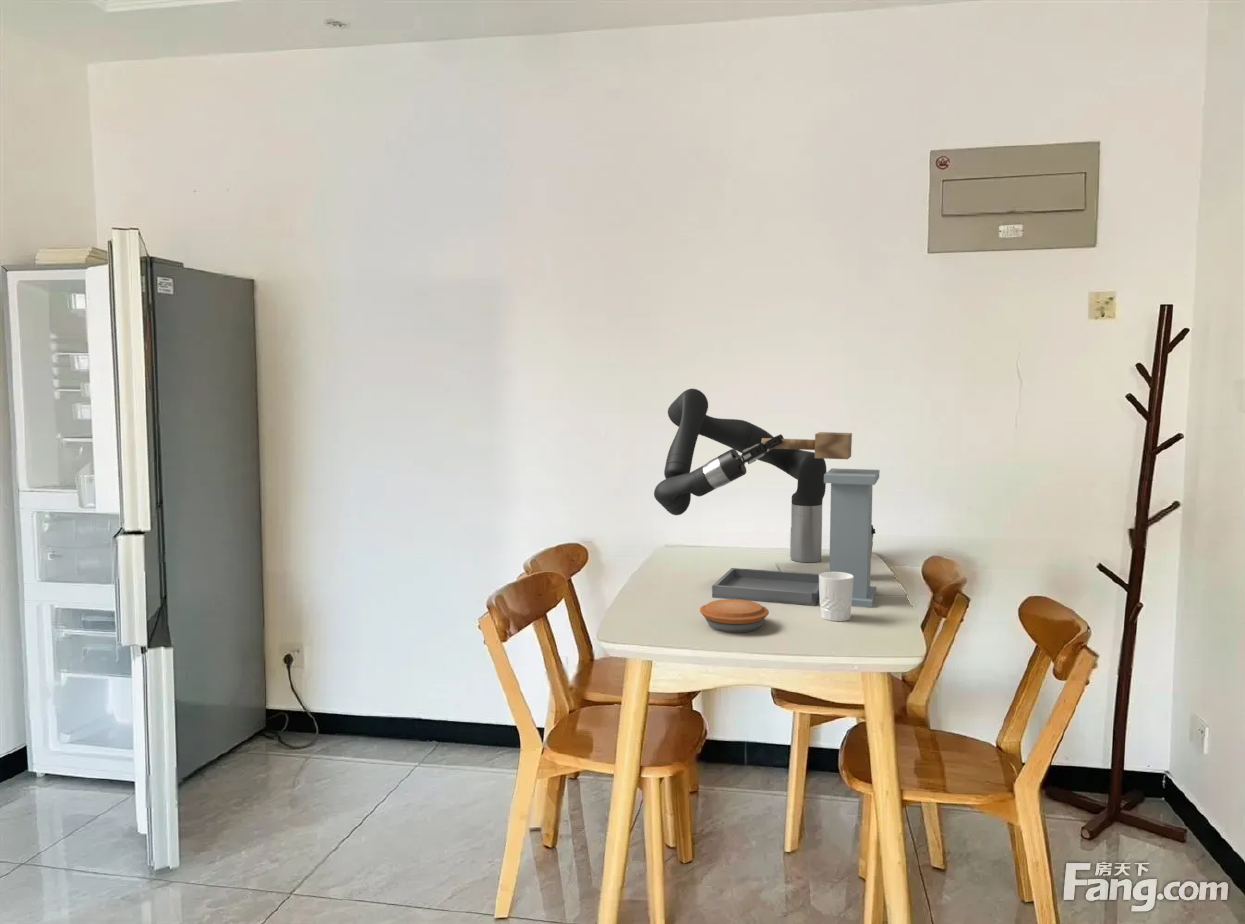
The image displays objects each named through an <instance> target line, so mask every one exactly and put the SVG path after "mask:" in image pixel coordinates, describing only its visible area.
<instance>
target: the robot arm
mask: <svg viewBox="0 0 1245 924" xmlns="http://www.w3.org/2000/svg"><path fill="white" fill-rule="evenodd" d="M708 410H709V401H708V398H707V397H706V395H705V394H704V393H703V392H702V391H701V390H699V389H697V388H688V389H686V390H684V391H683V392H681V394H680V395H679V396H678V397H676V399H675V400H674V401H673V402H672V403H671V404H670V405H669V407H668V409H667V416H668V418H669V420H670V421H671V422H672V424H674V425H675V426H677V427H678V428H677V431H676V433H675V436H674V438H673V441H672V443H671V444H670V446H669V450H668V453H667V455H666V456H667V457H666V460H665V461H666V462H665V467H664V471H663V473H664V478H665V479H663V480H662V481H660V482H659V483H658V484H657V485H656V486H655V488H654V492H653V495H654V496H653V497H654V499H655V500H656V501H657V503H659V504H660V505H661V506H662V507H663V508H664V510H666V511H667V512H668V513H669V514H671V515H672V516H681V515H683V514H684V513H685V512H686V511H687V510H688V508H689V506H690V503H691V501H692V499H691V498H692V495H693V496H696V497H702V496H705V495H707V494H709V493H710V492H712V491H714V490H716V489H718V488H721V487H724V486H726V485H728V484H729V483H732V482H733V481H735V480H737V479H739V478H741V477H742V476H744V475H746V474H747V466H745V465H746V463H747V464H748V465H750V464H753V463H754V462H756V461H760V462H764V463H766V464H768V465H772V466H774V467H776V468H778V469H779V470H780V471H783V472H784V473H786V474H788V475H789V476H790V477H792V478H794V479H796V480H797V487H796V488H797V489H796V491H795V492H794V493H793V494H792V495H791V511H790V513H791V518H790V519H791V520H790V521H791V523H790V544H789V545H790V547H789V548H790V551H789V552H790V553H789V554H790V559H791V561H794V562H797V563H798V562H799V563H816V562H817V563H818V562H820V561H822V551H823V549H822V548H823V547H822V545H823V542H822V541H823V499H824V497H825V494H826V487H827V486H826V485H827V483H824V474H826V473H827V464H826V460H825V459H824V458H815V451H810V450H808V451H807V450H801V449H772V448H773V447H775V446H777V445H779V444H781V443H782V442H783V441H782V439H785V438H784V436H783V435H782V434H778V435H776V436H773V435H772V434H771V433H769V431H767V430H766V429H763V428H761V427H760V426H758V425H755V423H754V424H753V423H751V422H749V421H747V420H744V419H738V418H737V419H736V418H734V419H733V418H717V417H713V416H709V415H707V412H708ZM699 435H700V436H702V437H705V438H708V439H710V440H712V441H715V442H717V443H720V444H722V445H724V446H727V447H729V448H730V449H729V450H728V451H726V452H724V453H722V454H720V455H718V456H717V457H715V458H713V459H711V460H709V461H707V463H705V464H703V465H702V466H699V467H698V468H697V469H694V470H692V471H691V468H692V464H693V457H694V453H695V448H696V444H697V441H698V437H699ZM762 438H772V439H770V440H768V441H766V442H767V443H766V442H762V443H761V440H762ZM739 453H741V454H739Z"/></svg>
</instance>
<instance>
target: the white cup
mask: <svg viewBox="0 0 1245 924" xmlns="http://www.w3.org/2000/svg"><path fill="white" fill-rule="evenodd" d="M818 574H819V598H820V599H819V607H820V609H819V610H820V612H819V613H820V617H821V619H823V620H826V621H831V622H846V621H848V620H850V619H851V617H852V616H851V615H852V613H851V612H852V607H853V606H852V596H853V581H854V576H853V575H851V574H848V573H843V572H829V571H825V572H821V573H818Z"/></svg>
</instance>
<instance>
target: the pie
mask: <svg viewBox="0 0 1245 924" xmlns="http://www.w3.org/2000/svg"><path fill="white" fill-rule="evenodd" d="M769 611H770V610H769V609H768V608H767V607H766V606H763V605H761V603H759V602H757V601H750V600H739V599H727V598H723V599H718V600H713V601H710V602H709V603H707V604H704V605H701V606H700V608H699V612H700V614H701V615H702V617H704V618H705V621H706V622H707V624H708V626H709V627H710V628H712V629H713V630H716V631H720V632H724V633H747V632H753V631H757V630H758V629H759V628H760V627H761V625H762V623H763V622H764V619H766V618H767V617H768V615H769V613H770V612H769Z"/></svg>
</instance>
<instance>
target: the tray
mask: <svg viewBox="0 0 1245 924" xmlns="http://www.w3.org/2000/svg"><path fill="white" fill-rule="evenodd" d="M819 574H820V573H811V572H810V573H809V572H808V573H806V572H795V571H780V570H779V571H778V570H766V569H764V570H763V569H752V568H739V567H731V568H730V569H729V570H728V571H727V572H725V573H724V574H723V575H722V576H721V577H720V578H719V579H718V580H717V581H715V583H714V584H712V585H711V597H712V598H715V599H716V598H718V599H739V600H748V601H752V602H762V603H763V602H765V603H774V604H786V605H787V604H788V605H799V606H800V605H801V606H813V607H816V606H817V604H818V603H819V602H820V598H819Z"/></svg>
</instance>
